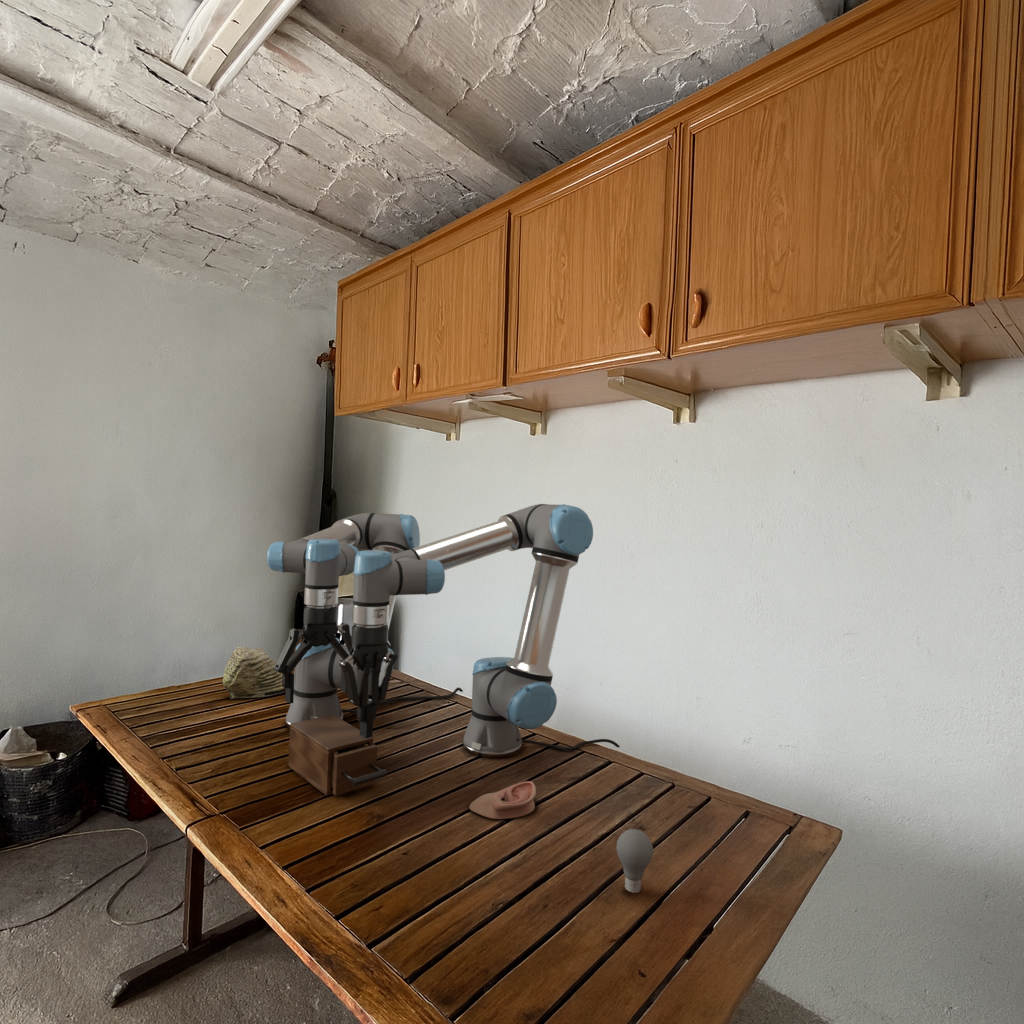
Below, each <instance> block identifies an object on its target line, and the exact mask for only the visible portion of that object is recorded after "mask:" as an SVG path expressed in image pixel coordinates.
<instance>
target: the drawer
mask: <svg viewBox="0 0 1024 1024" xmlns="http://www.w3.org/2000/svg"><path fill="white" fill-rule="evenodd" d="M377 760H378V745H376V744H373V745H371V746H368V744H367V743H364V744H360V745H356V746H353V747H349V748H345V749H341V750H337V751H334V752H332V762H331V788H333V794H332V795H333V796H339V795H343V794H346V793H348V792H352V791H355V790H358V789H362V788H364V787H368V786H370V785H374V784H376V783H377V780H379V779H382V778H385V777H387V776H388V771H387V769H385V768H383V769H381V768H380V767H378V766H377Z"/></svg>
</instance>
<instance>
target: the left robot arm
mask: <svg viewBox="0 0 1024 1024" xmlns="http://www.w3.org/2000/svg"><path fill="white" fill-rule="evenodd" d="M419 546H421V533H420V526H419V523H418V520H417V518H416V517H415V516H414V515H412V514H404V513H400V514H399V513H383V512H382V513H380V512H363V513H357V514H354V515H351V516H347V517H344V518H341V519H339V520H336V521H335V522H334V523H333V524H332V525H331V526H330V527H327V528H325V529H322V530H319V531H317V532H315V533H312V534H309V535H307V536H303V537H301V538H298V539H296V540H293V541H284V540H283V541H274V542H273V543H271V545H270V546H269V548H268V550H267V553H266V562H267V566H268V568H269V569H270V570H271V571H274V572H280V573H283V574H284V573H291V574H293V573H294V574H305V579H304V580H305V582H304V583H305V584H304V599H303V600H304V601H303V604H304V605H305V606H304V608H303V627H302V629H301V628H299V629H296V628H294V627H292V628H290V629H289V634H288V637H287V640H286V643H285V644H284V647H283V648H282V650H281V653H280V654H279V656H278V658H277V660H276V663H275V666H274V670H275V671H277V672H279V673H282V686H283V687H284V688H285V689H286V690H285V691H284V693H285V695H284V696H285V697H284V701H285V702H287V703H288V704H289V708H288V711H287V713H286V715H285V726H286V728H287V729H289V730H290V724H291V723H296V722H300V721H305V720H310V719H314V718H319V717H323V716H328V715H332V714H333V715H334V716H336V717H338V718H340V719H341V720H343V721H344V713H347V714H357V709H350V708H349V709H347V708H342V706H341V702H340V699H339V695H338V689H339V690H340V691H341V692H343V693H345V694H347V689H346V684H345V678H344V673H343V670H342V668H341V667H340V665H339V661H340V660H345V659H346V658H347V657H349V656H350V651H351V649H352V642H351V637H352V634H351V630H350V624H348V623H345V622H341V623H340V624H337V622H338V612H339V611H338V610H339V608H338V607H337V605H338V603H339V582H340V577H342V576H343V577H344V576H348V575H351V574H353V572H354V565H355V557H356V554H357V553H358V552H360V550H362V551H366V550H375V551H387V552H390V553H400V552H403V551H406V550H410V549H413V548H416V547H419ZM396 599H397V595H390V599H389V601H390V604H389V620H388V623H387V624H386V625H387V626H388V631H389V630H390V625H391V621H392V617H393V612H394V607H395V602H396ZM338 633H339V634H340V635H341V637H342V640H343V642H344V644H341V641H340V639H339V638H338V637H336V635H337V634H338ZM302 636H303V639H302V640H301V642H299V643H298V641H299V639H301V637H302ZM387 647H388V651H389V652H391V653H393V654H395V652H394V650H393V649H391V643H390V641H389V640H388V642H387ZM294 650H295V651H294ZM383 661H384V659H383ZM383 661H382V663H383ZM382 663H381V667H382ZM353 665H354V667H353V670H354V673H355V679H356V684H357V675H358V673H357V670H356V669H357V666H356V664H355V663H354V661H353ZM394 666H395V664H394V665H393V668H392V673H391V675H392V674H393V671H394ZM293 671H294V672H293ZM379 675H380V673H379ZM458 691H459V692H460V693H463V692H464V690H463V689H462V688H461V687H456V688H455V689H454V690H453V691H452V692H451V693H450V694H449V693H448V694H444V695H426V696H425V695H423V696H402V697H401V696H400V697H394V698H393V697H392V698H388V699H385V700H383V701H382V700H381V701H379V702H380V704H379V706H382V705H385V704H388V703H392V702H399V701H414V700H419V701H420V700H441V699H442V700H443V699H449V698H451V697H453V696H454V695H456V693H457V692H458Z"/></svg>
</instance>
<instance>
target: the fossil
mask: <svg viewBox="0 0 1024 1024" xmlns="http://www.w3.org/2000/svg"><path fill="white" fill-rule="evenodd" d="M275 664H276V663H275V662H274V660H273V659H272V658H271V657H270V656H269V655H268V654H267V653H266V652H265V650H264V649H263V648H260V647H258V648H251V647H247V646H246V647H245V646H238V647H237V648H236V649H235V650H233V651H232V653H231V656H230V657H229V659H228V660H227V663H226V666H225V668H224V671H223V675H222V676H223V677H222V685H223V687H224V688H225V690H226V691H228V693H229V698H230V699H250V698H264V697H271V696H275V695H281V694H284V693H285V692H286V689H285V688H284V687H283V686H282V673H279V672H277V671H275V670H274V666H275Z"/></svg>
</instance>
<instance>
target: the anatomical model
mask: <svg viewBox="0 0 1024 1024" xmlns="http://www.w3.org/2000/svg"><path fill="white" fill-rule="evenodd" d="M536 795H537V789H536V785H535V783H534V782H533V781H529V780H528V781H527V780H526V781H522V782H518V783H515V784H512V785H510V786H507V787H505V788H503V789H500V790H498V791H496V792H489V793H484V794H482V795H480V796H478V797H477V798H476V799H474V800H473V801H472V802H471V803H470V804H469V807H468V808H469V810H470V811H472V812H473V813H475V814H477V815H480V816H482V817H485V818H488V819H492V820H505V819H515V818H520V817H523V816H526V815H528V814H530V813H532V812H533V811H534V810H535V807H536V803H535V801H534V800H535V797H536Z"/></svg>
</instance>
